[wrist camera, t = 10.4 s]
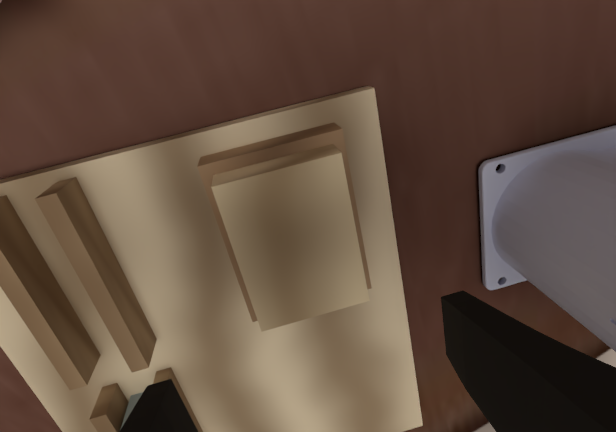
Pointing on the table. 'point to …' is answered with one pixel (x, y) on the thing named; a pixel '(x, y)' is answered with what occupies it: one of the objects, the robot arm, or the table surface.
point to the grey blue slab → (131, 405)
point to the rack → (195, 291)
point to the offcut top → (293, 235)
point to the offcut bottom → (271, 151)
